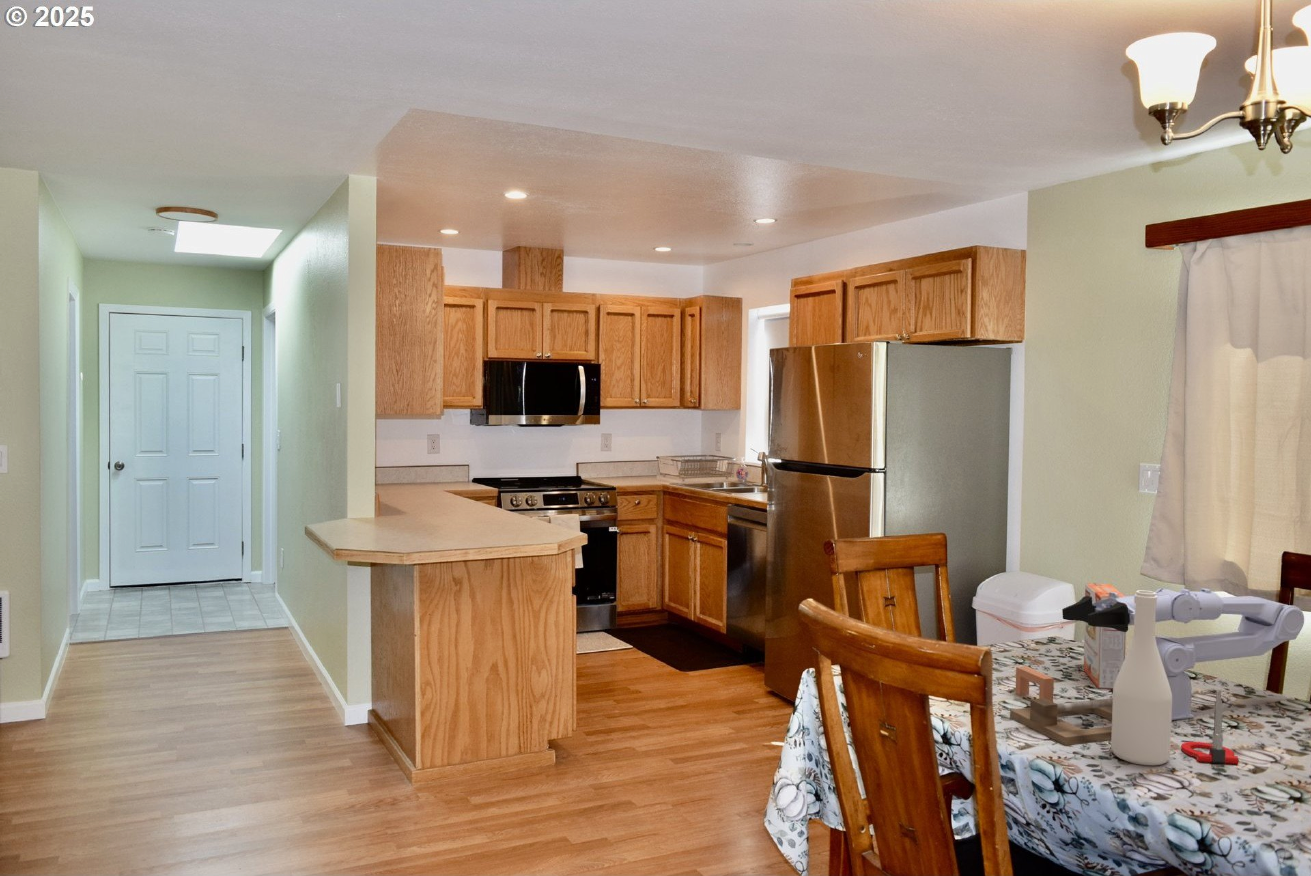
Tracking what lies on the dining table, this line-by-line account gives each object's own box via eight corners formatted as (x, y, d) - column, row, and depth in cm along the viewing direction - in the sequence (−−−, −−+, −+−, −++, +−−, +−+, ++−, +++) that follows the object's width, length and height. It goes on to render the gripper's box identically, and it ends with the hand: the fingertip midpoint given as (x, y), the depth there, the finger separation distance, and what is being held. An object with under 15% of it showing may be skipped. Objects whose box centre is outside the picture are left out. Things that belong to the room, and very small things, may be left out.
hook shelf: (1107, 706, 205) (1108, 680, 204) (1168, 732, 189) (1169, 704, 189) (1010, 717, 198) (1010, 690, 197) (1065, 745, 182) (1066, 716, 182)
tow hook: (1174, 746, 184) (1193, 762, 174) (1175, 677, 183) (1195, 690, 174) (1222, 749, 182) (1244, 766, 173) (1224, 680, 182) (1246, 693, 173)
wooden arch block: (1024, 692, 213) (1025, 666, 213) (1053, 705, 205) (1053, 678, 205) (1015, 693, 213) (1016, 667, 212) (1043, 706, 204) (1044, 679, 204)
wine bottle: (1100, 747, 181) (1106, 586, 180) (1150, 746, 182) (1156, 586, 180) (1128, 767, 172) (1134, 597, 170) (1181, 766, 173) (1187, 597, 171)
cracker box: (1081, 670, 230) (1084, 582, 229) (1109, 672, 229) (1112, 583, 228) (1095, 689, 216) (1098, 594, 215) (1125, 691, 215) (1128, 596, 214)
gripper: (1108, 585, 204) (1051, 592, 201) (1160, 594, 190) (1099, 601, 187) (1111, 619, 204) (1053, 626, 201) (1162, 631, 190) (1102, 639, 187)
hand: (1076, 617), depth 194 cm, fingers open, 7 cm apart
